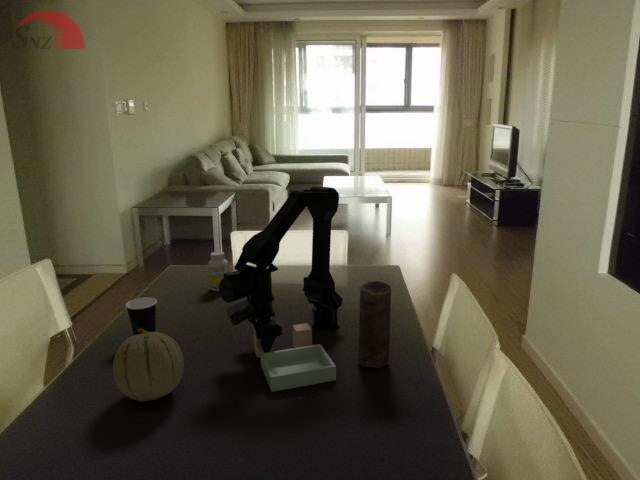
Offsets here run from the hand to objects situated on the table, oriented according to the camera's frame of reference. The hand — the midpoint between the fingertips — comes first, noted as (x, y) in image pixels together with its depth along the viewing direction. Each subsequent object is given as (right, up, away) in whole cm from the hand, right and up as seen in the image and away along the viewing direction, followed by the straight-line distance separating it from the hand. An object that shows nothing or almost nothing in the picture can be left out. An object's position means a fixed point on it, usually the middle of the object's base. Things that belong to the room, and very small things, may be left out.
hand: (263, 349), depth 131 cm
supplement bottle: (-20, +11, +48) cm, 53 cm away
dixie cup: (-33, 0, +9) cm, 34 cm away
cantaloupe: (-22, -7, -18) cm, 30 cm away
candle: (+27, -2, -7) cm, 28 cm away
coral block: (+10, 0, +2) cm, 10 cm away
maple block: (0, -1, 0) cm, 1 cm away
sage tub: (+9, -3, -10) cm, 14 cm away
